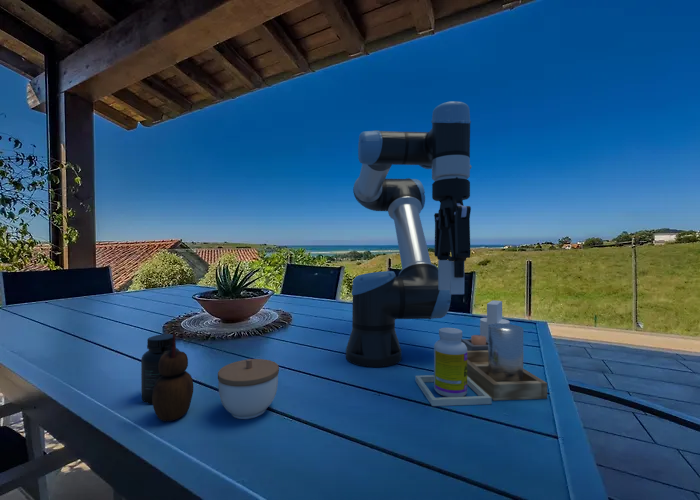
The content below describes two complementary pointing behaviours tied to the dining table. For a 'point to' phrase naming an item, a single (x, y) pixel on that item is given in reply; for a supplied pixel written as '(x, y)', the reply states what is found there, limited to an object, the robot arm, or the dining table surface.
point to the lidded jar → (248, 387)
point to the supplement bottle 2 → (450, 363)
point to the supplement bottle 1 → (153, 363)
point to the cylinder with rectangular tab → (492, 317)
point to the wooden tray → (503, 390)
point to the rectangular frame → (448, 401)
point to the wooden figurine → (172, 386)
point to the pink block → (478, 340)
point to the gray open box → (474, 347)
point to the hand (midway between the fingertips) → (450, 291)
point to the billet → (505, 352)
